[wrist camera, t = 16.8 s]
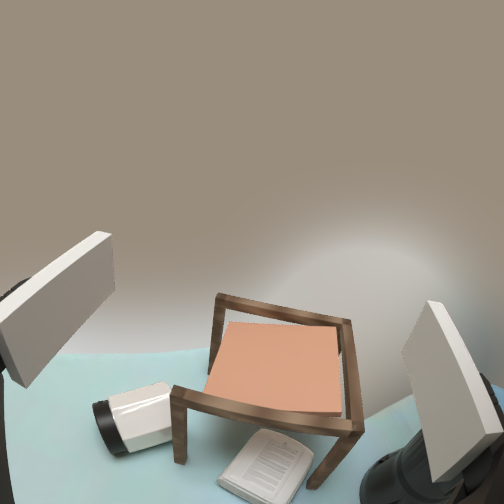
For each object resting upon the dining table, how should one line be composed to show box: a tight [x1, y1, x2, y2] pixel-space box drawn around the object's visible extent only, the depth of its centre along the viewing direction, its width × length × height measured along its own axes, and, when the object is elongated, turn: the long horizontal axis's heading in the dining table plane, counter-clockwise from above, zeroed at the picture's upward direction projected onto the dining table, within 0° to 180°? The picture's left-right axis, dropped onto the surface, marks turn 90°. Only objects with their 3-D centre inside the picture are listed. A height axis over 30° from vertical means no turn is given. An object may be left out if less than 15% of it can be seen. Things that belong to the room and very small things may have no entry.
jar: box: [92, 381, 172, 454], centre depth 39 cm, size 9×8×12 cm
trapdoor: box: [203, 322, 342, 417], centre depth 39 cm, size 16×16×1 cm
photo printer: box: [217, 428, 315, 504], centre depth 37 cm, size 10×4×12 cm
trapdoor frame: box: [169, 293, 365, 490], centre depth 42 cm, size 21×21×18 cm
